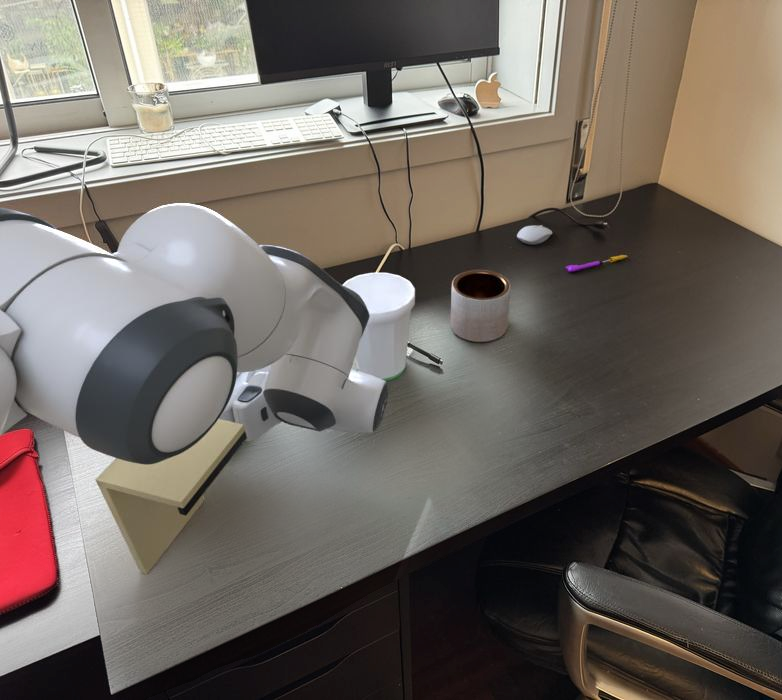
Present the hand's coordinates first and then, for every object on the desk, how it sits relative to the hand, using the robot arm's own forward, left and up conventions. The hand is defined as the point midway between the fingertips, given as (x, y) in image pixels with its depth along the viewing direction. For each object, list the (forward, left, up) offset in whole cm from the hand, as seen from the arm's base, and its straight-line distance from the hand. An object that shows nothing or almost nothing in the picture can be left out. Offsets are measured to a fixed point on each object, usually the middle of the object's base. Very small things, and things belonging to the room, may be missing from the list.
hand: (193, 367), depth 93 cm
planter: (+46, -20, -11) cm, 51 cm away
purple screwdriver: (+82, -27, -11) cm, 87 cm away
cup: (+26, -13, -11) cm, 31 cm away
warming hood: (-15, -19, -11) cm, 26 cm away
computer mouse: (+84, -10, -11) cm, 85 cm away
